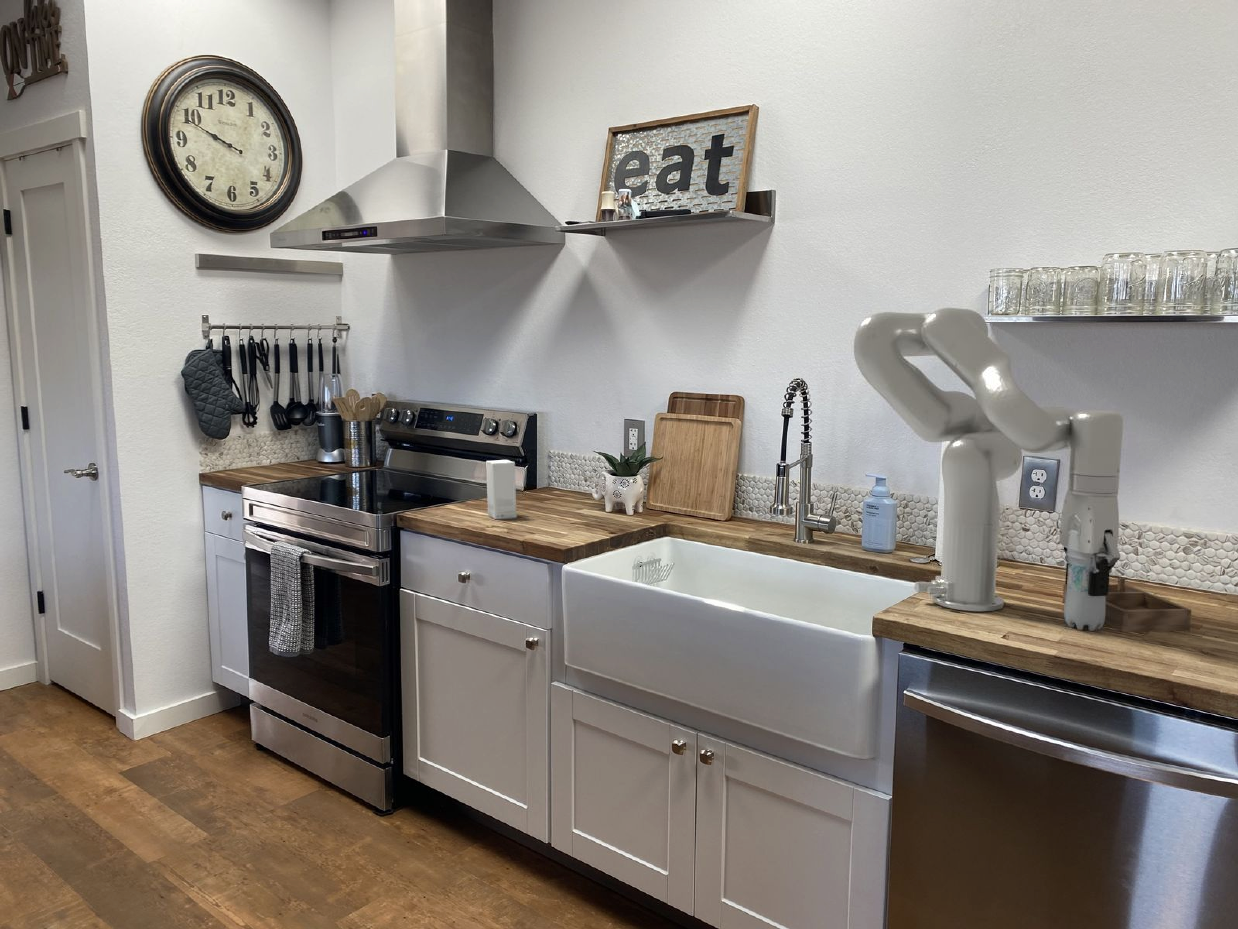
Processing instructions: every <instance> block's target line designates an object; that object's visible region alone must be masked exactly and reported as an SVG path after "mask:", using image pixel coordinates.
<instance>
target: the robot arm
mask: <svg viewBox="0 0 1238 929" xmlns="http://www.w3.org/2000/svg"><path fill="white" fill-rule="evenodd" d="M853 354H854V359H855V362H856V365H857V368H858V369H859V371H860V373H861V375H862V377H863V378H864V379H865V381H866V382H868V383H869V385H870V386H871V387H872V388H873V390H875V391H876V392H877V393H878V395H880V396H881V397H882V398H883V400H885V401H886V402H887V403H888V404H889V405H890V407H891V408H892V409H893V410H894V412H895V413H897V414H898V416H899V417H900V418H901V419H902V420H903V421H904V422H905V424H907V425H908V426H909V427H910V429H911V430H912V431H913V432H914V433H915V434H916V435H917V436H918V437H919V438H921V439H922V440H924V441H925V442H929V443H944V442H949V443H948V444H947V446H946V447H945V449H944V451H943V454H942V457H941V472H942V473H941V474H942V482H943V492H944V493H943V494H944V495H943V496H944V498H943V499H944V501H943V504H944V505H943V528H942V529H943V531H942V548H941V551H942V552H941V553H942V554H941V567H940V568H941V572H940V575H935V579H932V580H931V581H927V582H926V581H915V583H914V590H915V592H916V593H927V594H928V595H931V596H930V597H931V598H930V599H931V601H932V602H933V604H936V605H938V606H941V607H944V608H948V609H952V610H956V611H957V610H958V611H965V612H993V611H998V610H1000V609H1002V608H1004V604H1005V602H1004V599H1003V597H1001V596H999V595H997V594H996V585H997V584H996V583H997V570H998V569H997V567H998V566H997V563H998V550H999V548H998V546H999V530H1000V529H999V528H1000V497H999V492H998V486H997V482H998V481H1003V480H1005V479H1008V478H1011V477H1012V476H1013V475H1015V473H1017V472H1018V470H1019V469H1020V467H1021V465H1022V461H1023V453H1022V452H1023V451H1024V452H1027V453H1030V454H1042V453H1046V452H1047V453H1048V452H1056V451H1062V450H1070V453H1069V467H1068V468H1069V469H1068V470H1069V471H1068V482H1067V483H1068V484H1067V486H1068V487H1067V490H1066V493H1065V496H1064V500H1063V504H1062V511H1061V518H1060V525H1059V537H1058V541H1059V544H1060V545H1061V546H1063V551H1064V553H1065V555H1064V560H1065V562H1066V566H1065V580H1064V584H1066V585H1067V577H1068V562H1069V558H1068V556H1067V552H1068V550H1067V545H1068V541H1069V537H1070V534H1071V530H1075V531H1077V532H1078V534H1077V536H1078V535H1079V536H1078V537H1077V538H1078V546H1079V552H1081V553H1082V554H1084V555H1091V566H1092V571H1093V572H1089V584H1088V595H1090V596H1107V595H1108V587H1109V584H1110V574H1111V573H1112V572H1113V568H1114V567H1115V565H1116V564H1117V563H1118V561H1119V560H1120V559H1121V554H1120V551H1119V549H1118V544H1119V530H1120V526H1119V525H1120V519H1119V518H1120V515H1119V514H1120V513H1119V510H1120V509H1119V500H1118V496H1119V488H1120V472H1121V458H1122V446H1123V431H1124V430H1123V429H1124V419H1123V416H1122V415H1121V414H1120V413H1119V412H1117V411H1116V412H1115V411H1112V410H1098V409H1097V410H1095V409H1094V410H1092V409H1091V410H1079V409H1073V408H1067V407H1061V406H1051V407H1049V406H1047V407H1040V406H1039V405H1038V404H1037V403H1036V402H1035V401H1033V400H1032V398H1031V397H1029V396H1028V395H1027V393H1025V392H1024V390H1022V389H1021V387H1020V386H1018V384H1017V383H1016V381H1015V380H1014V378H1013V375H1012V372H1011V369H1012V368H1011V367H1012V359H1011V356H1009V354H1008V353H1006V351H1004V350H1003V348H1002V347H1000V346H999V345H998V344H997V343H996V342H994V341H993V340H992V339H991V338H990V337H989V328H988V324H987V322H986V320H985V318H984V317H983V316H982V315H981V314H980V313H978V312H977V311H975V310H972V309H968V308H958V307H957V308H956V307H944V308H939V309H937V310H934V311H933V312H923V313H922V312H921V313H920V312H919V313H917V312H916V313H915V312H914V313H910V312H909V313H908V312H893V311H891V312H890V311H885V312H878V313H874V314H872V315H870V316H867V317H866V318H865V319H864V320H863V321H862V322H861V323H860V324H859V326H858V327H857V330H856V332H855V335H854V339H853ZM926 356H927V357H929V356H933V357H934V356H936V357H937V358H938V359H939V360H940V361H941V362H942V363H943V364H945V365H946V366H947V367H948V368H949V369H950V370H951V371H952V372H953V373H954V374H955V375H956V376H957V377H958V378H959V379H960V380H961V381H962V382H963V383H964V384H965V385H966V386H968V388H969V389H970V390H971V391H972V393H973V395H974V397H973V396H972V395H970V394H968V393H966V392H962V391H956V390H954V391H953V390H951V391H950V390H947V391H945V390H943V389H940V388H939V387H938V386H937V385H936V384H934V382H932V381H931V379H929V378H928V377H927V376H926V374H924V372H922V370H921V369H919V368H918V367H917V366H915V365H914V364H913V363H911V362H910V361H908V360H907V359H906V358H905V357H926ZM1100 548H1103V549H1106V553H1098V552H1099V550H1100ZM1097 557H1104V559H1102V560H1101V561H1100V562H1099V564H1098V558H1097Z"/></svg>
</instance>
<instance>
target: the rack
mask: <svg viewBox="0 0 1238 929" xmlns="http://www.w3.org/2000/svg"><path fill="white" fill-rule="evenodd" d="M1062 591H1063V592H1062V604H1064V605H1065V598H1066V592H1067V585H1066V584H1065V583H1063V588H1062ZM1105 606H1106V608H1105V621H1104V624H1105V625H1108V626H1109V627H1112V628H1114V629H1116V630H1118V631H1120V632H1122V633H1128V632H1129V633H1131V632H1135V633H1136V632H1169V631H1170V632H1171V631H1173V632H1174V631H1176V632H1178V631H1180V632H1181V631H1190V630H1191V622H1192V620H1191V619H1192V609H1190V608H1187V607H1185V606H1182V605H1181V604H1178V603H1175V602H1172V601H1170V600H1168V599H1165V598H1163V597H1160V596H1157V595H1155V594H1152V593H1149V592H1147V591H1145V590H1142V589H1139V588H1137V587H1135V586H1132V585H1131V584H1127V583H1126V578H1124V577H1117V583H1109V587H1108V595H1107V596H1105Z"/></svg>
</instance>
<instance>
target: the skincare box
mask: <svg viewBox="0 0 1238 929" xmlns="http://www.w3.org/2000/svg"><path fill="white" fill-rule="evenodd" d="M485 465H486V466H485V470H486V474H485V475H486V494H487V499H486V500H487V516H488V517H491V518H492V519H494V520H507V519H508V520H509V519H510V520H511V519H517V518H518V517H517V493H516V492H517V491H516V490H517V489H516V462H515V461H511V460H509V459H499V460H498V459H497V460H486V461H485Z"/></svg>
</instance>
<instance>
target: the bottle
mask: <svg viewBox="0 0 1238 929" xmlns="http://www.w3.org/2000/svg"><path fill="white" fill-rule="evenodd" d="M1077 534H1078V532H1077V531H1075V530H1071V534H1070V537H1069V541H1068V545H1067V550H1068V552H1067V556H1068V558H1069V562H1067V563H1068V577H1067V592H1066V598H1065V604H1064V607H1063V617H1064V621H1065V623H1066V624H1067V626H1068V627H1069V628H1072V629H1073V628H1075V625H1076V628H1077V630H1079V631H1083V629H1084V626H1088V629H1087V630H1088V631H1089V632H1093V631H1095V630H1096V631H1100V629H1102V628H1103V626H1104V624H1105V623H1104V621H1105V608H1106V606H1105V596H1090V595H1088V584H1089V572H1093V571H1092V566H1091V555H1084V554H1082V553H1081V552H1079V546H1078V538H1077V537H1078V536H1079V535H1078V536H1077ZM1098 553H1106V549H1103V548H1100V550H1099V552H1098ZM1097 558H1098V564H1099V562H1100V561H1101V560H1102V559H1104V557H1097Z"/></svg>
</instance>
